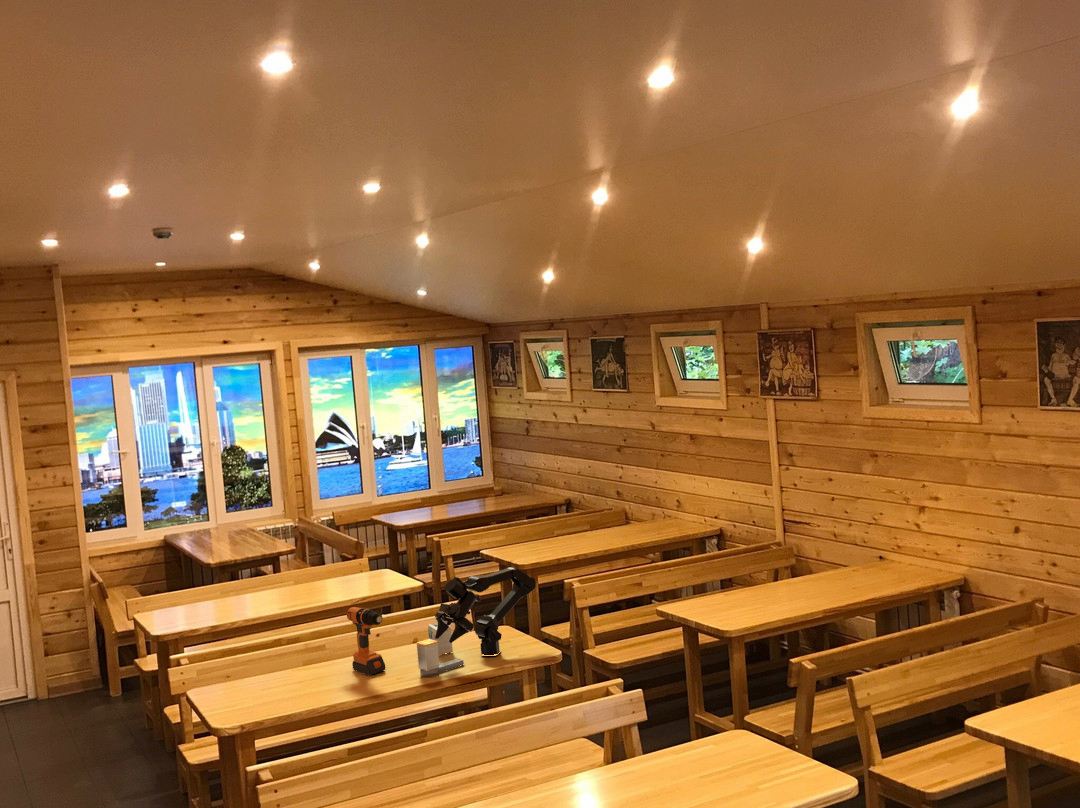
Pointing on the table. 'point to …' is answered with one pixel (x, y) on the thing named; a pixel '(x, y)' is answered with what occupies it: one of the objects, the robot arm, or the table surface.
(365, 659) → the power drill
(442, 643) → the light bulb box
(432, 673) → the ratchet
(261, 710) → the table surface
